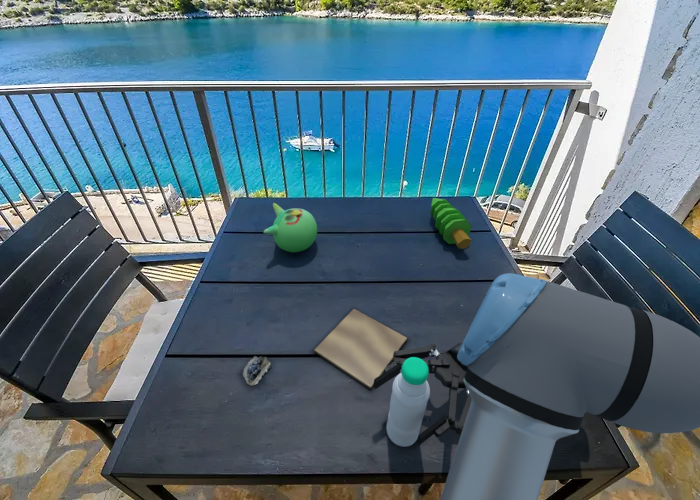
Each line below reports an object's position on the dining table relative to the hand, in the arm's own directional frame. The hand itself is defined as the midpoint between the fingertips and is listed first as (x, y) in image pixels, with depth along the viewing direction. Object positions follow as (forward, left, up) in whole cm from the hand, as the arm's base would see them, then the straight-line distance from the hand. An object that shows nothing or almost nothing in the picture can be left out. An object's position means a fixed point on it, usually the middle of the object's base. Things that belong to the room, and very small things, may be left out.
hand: (395, 410), depth 67 cm
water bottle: (+3, -1, -13) cm, 14 cm away
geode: (-6, +36, -13) cm, 39 cm away
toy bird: (+38, +64, -13) cm, 76 cm away
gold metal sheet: (+16, +19, -13) cm, 28 cm away
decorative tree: (+80, +23, -13) cm, 84 cm away
